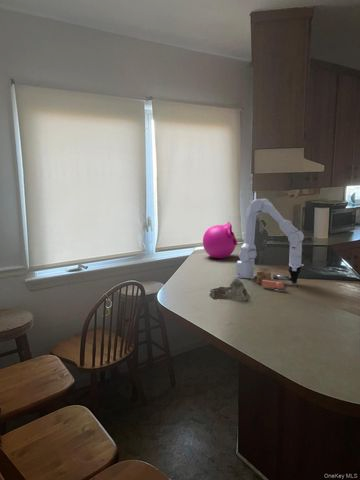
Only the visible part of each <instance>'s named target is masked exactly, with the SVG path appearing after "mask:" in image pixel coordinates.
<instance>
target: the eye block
mask: <svg viewBox="0 0 360 480" xmlns="http://www.w3.org/2000/svg"><path fill="white" fill-rule="evenodd" d="M271 273H272V269H271V268H262V267H260V268H258V270H257V271H256V285H262V280H268V281H272V280H271V278H272V277H271V276H272V275H271Z"/></svg>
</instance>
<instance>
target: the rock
mask: <svg viewBox="0 0 360 480" xmlns="http://www.w3.org/2000/svg"><path fill="white" fill-rule="evenodd" d="M209 297H211V298H213V299H212V300H217V299H220V300H228V299H230V300H229V301H239V302H240V301H246V300H247V299H249V298H251V297H250V294H249V293H248V290H247V289H246V288H245V285H244V283H243V282H242V281H241V279H240V278H239V277H236V278H233V280H232V281H231V283H230V285H229V286H227V287H226V286H219V287H214V288H211V289H210V293H209Z"/></svg>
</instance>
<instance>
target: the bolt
mask: <svg viewBox="0 0 360 480" xmlns="http://www.w3.org/2000/svg"><path fill="white" fill-rule="evenodd" d="M272 277H273V280H272V281H286V282H287V281H288V282H291V284H290V285H291V286H297V283H298V282H297V283H292V281H291V275H280V274H273V276H272Z"/></svg>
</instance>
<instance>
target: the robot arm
mask: <svg viewBox="0 0 360 480" xmlns="http://www.w3.org/2000/svg"><path fill="white" fill-rule="evenodd" d="M260 213H265V214H268V215H269V216H271V217H272V219H274V220H275V221H276V222H277V224H278V227H279V229H280V230H281V231H282V232H283V233H284V234H285V236H286V237H287V239H288V242H289V255H288V256H289V258H288V259H289V261H288V262H289V263H288V266H289V268H288V272H289V274H290V275H289V276H291V281H290V282H291V284H292V283H298V278H299V274H300V272H301V269H302V267H304V263H302V253H303V252H302V251H303V246H302V245H303V241H304V239H305V235H304V233H303V231H301V230H299V229H298V228H296V226H294V225H293V224H292V223H293V222H292V220H288V219H285V218H284V217H283V216H282V214H280V212H279V211H278V210H277V209H276V207H274V205H273V203H272V202H271V201H270V200H269V199H268V198H255V199H253V200H252V201H250V204H249V206H248V207H247V209H246V212H245V222H244V223H245V224H244V225H245V226H244V237H243V239H244V240H243V244H242V246H241V247H240V251H239V253H238V258H239V260H237V261H236V278H238V279H240V278H243V279H252V280H253V279H254V278H255V277H257V273H256V274H255V259H256V258H257V255H258V254H257V253H258V252H257V246H256V245H255V236H256V235H255V234H256V224H257V223H256V221H257V216H258V215H259V214H260Z"/></svg>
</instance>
